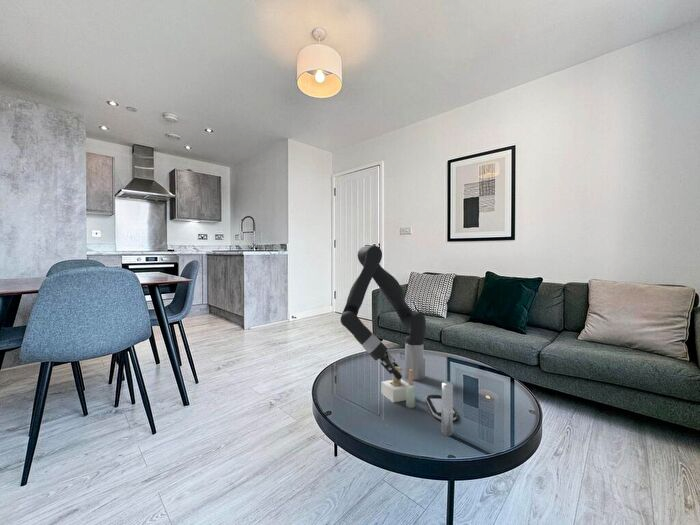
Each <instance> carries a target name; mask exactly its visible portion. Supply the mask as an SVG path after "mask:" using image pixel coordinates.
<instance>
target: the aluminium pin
mask: <svg viewBox="0 0 700 525" xmlns="http://www.w3.org/2000/svg"><path fill="white" fill-rule="evenodd" d="M453 394H454V385H453V383H452V382H451V381H449V380H448V381H447V380H446V381H445V380H444V381H442V382H441V396H442V418H441V420H440V421H441V425H440V426H441V428H440V429H441V431H440V432H441V434H442V435H444V436H447V437H451V436H453V435H454V433H453V432H454V430H453V429H454V425H453V423H454V421H453V407H454V403H453V402H454V397H453V396H454V395H453Z"/></svg>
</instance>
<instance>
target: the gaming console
mask: <svg viewBox="0 0 700 525" xmlns="http://www.w3.org/2000/svg"><path fill="white" fill-rule="evenodd" d="M425 402H426V403H427V405H428V408H429V409H430V412H431V413H432V415H433V417H434V418H436V419H437V420H439V421H441V418H442V394H441V395H440V394H429V395H426V396H425ZM458 418H459V416H458V412H457V410H456V409H455V407H454V406H453V422H455V421H457V420H458Z"/></svg>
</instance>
